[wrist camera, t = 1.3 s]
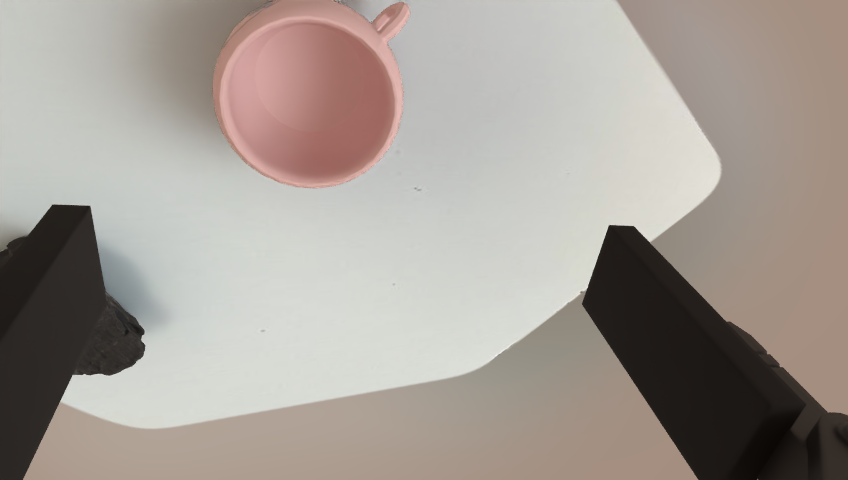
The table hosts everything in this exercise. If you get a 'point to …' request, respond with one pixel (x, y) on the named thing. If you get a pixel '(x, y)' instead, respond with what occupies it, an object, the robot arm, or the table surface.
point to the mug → (310, 90)
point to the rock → (103, 335)
